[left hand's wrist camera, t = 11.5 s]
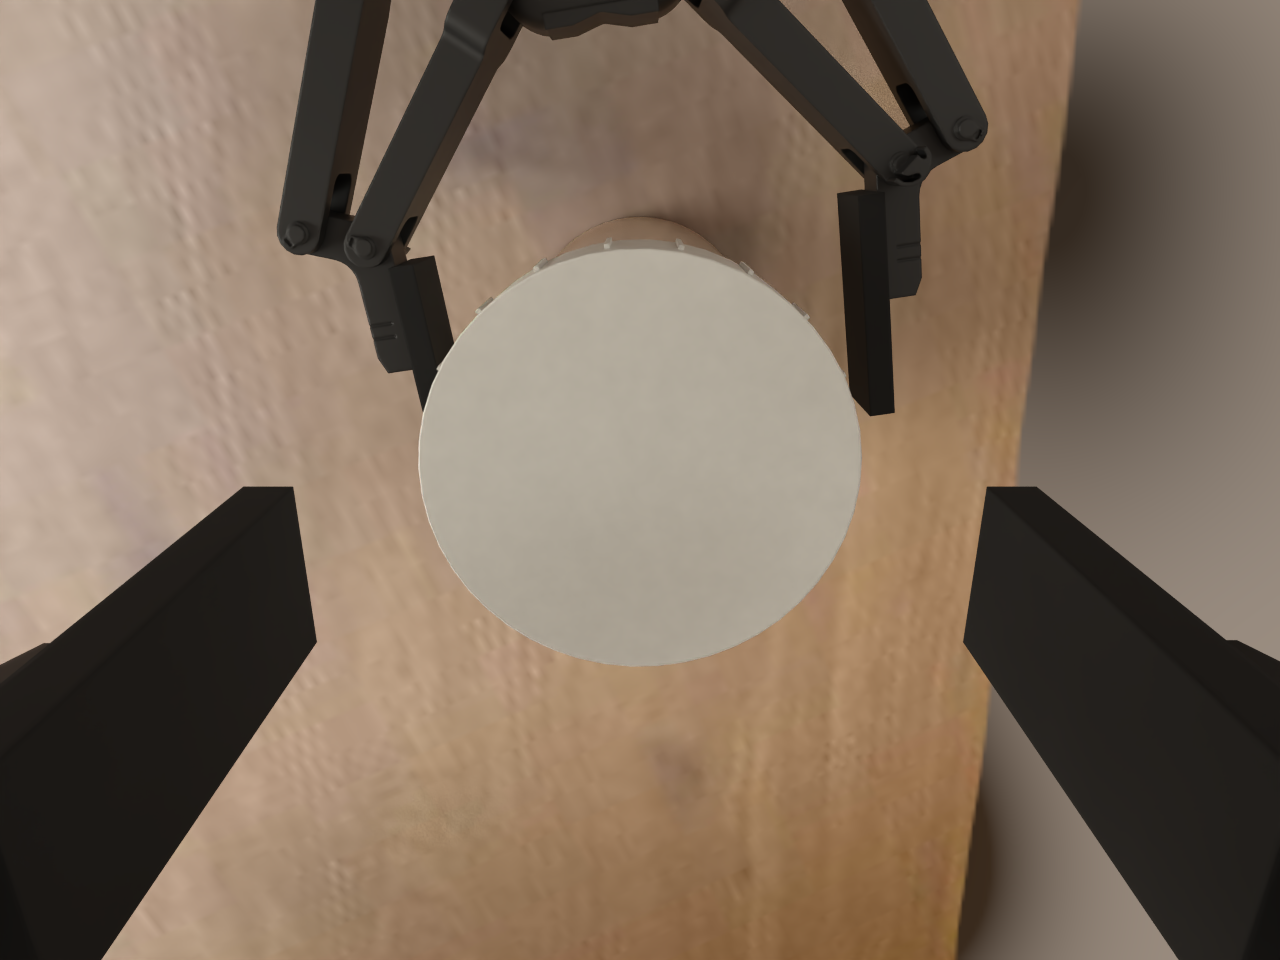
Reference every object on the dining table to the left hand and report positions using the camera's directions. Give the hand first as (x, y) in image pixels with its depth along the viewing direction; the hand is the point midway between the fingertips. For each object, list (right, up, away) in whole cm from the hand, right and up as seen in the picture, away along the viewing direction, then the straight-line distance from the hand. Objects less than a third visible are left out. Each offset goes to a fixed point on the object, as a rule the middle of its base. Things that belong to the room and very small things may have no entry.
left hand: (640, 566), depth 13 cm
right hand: (+1, +3, +14) cm, 15 cm away
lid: (0, +2, +4) cm, 4 cm away
